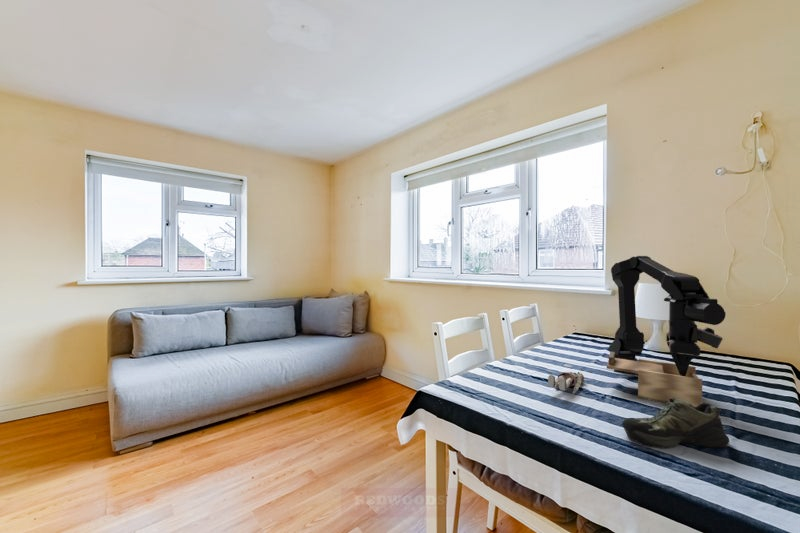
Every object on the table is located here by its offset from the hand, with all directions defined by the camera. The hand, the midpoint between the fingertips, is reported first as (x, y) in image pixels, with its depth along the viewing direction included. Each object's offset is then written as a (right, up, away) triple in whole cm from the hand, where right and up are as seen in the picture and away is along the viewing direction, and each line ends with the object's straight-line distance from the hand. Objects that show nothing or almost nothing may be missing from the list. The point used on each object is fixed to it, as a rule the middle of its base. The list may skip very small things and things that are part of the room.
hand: (681, 371), depth 97 cm
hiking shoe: (-21, -9, -22) cm, 32 cm away
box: (-2, -8, +2) cm, 8 cm away
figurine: (-29, -8, +7) cm, 31 cm away
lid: (-9, -1, +7) cm, 11 cm away
